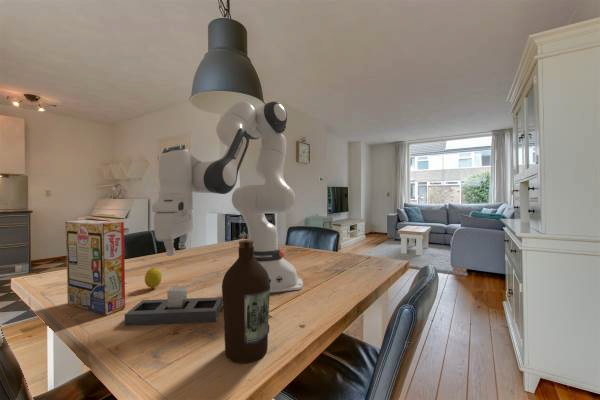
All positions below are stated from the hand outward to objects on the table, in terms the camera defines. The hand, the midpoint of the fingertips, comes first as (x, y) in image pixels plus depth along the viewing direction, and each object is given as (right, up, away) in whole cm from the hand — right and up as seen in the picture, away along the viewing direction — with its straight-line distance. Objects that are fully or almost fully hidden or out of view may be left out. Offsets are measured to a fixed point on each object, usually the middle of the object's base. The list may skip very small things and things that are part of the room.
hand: (177, 251), depth 78 cm
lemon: (-19, -19, +23) cm, 35 cm away
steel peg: (0, -19, 0) cm, 19 cm away
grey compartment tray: (0, -19, 0) cm, 19 cm away
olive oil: (+24, -19, -17) cm, 35 cm away
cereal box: (-29, -19, +7) cm, 35 cm away
